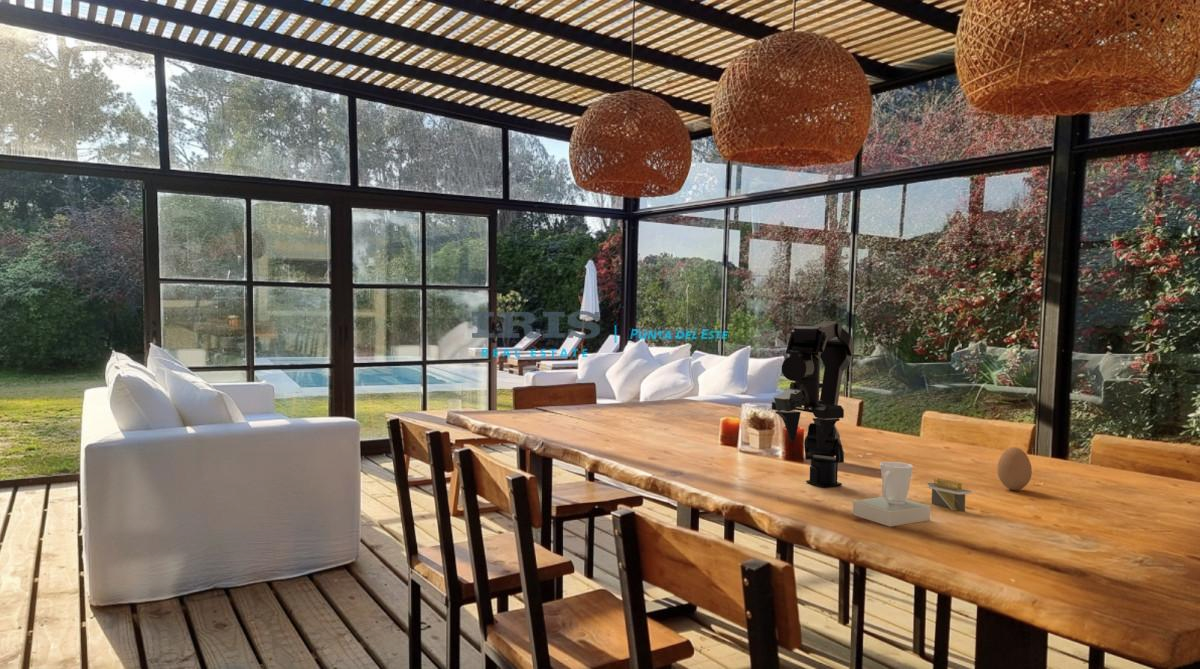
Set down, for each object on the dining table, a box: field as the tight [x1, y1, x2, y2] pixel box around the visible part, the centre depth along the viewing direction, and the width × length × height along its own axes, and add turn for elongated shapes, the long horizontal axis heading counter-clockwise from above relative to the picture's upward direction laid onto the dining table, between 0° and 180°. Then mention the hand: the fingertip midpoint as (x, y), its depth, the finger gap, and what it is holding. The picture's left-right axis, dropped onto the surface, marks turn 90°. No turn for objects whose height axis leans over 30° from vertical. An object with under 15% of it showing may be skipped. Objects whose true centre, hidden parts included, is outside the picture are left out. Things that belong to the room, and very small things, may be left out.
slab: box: [852, 496, 931, 527], centre depth 159 cm, size 12×10×3 cm
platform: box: [926, 478, 972, 512], centre depth 168 cm, size 12×18×7 cm, turn 34°
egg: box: [996, 446, 1033, 491], centre depth 187 cm, size 8×8×11 cm
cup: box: [879, 461, 914, 504], centre depth 158 cm, size 7×10×8 cm
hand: (805, 444), depth 176 cm, fingers open, 9 cm apart
